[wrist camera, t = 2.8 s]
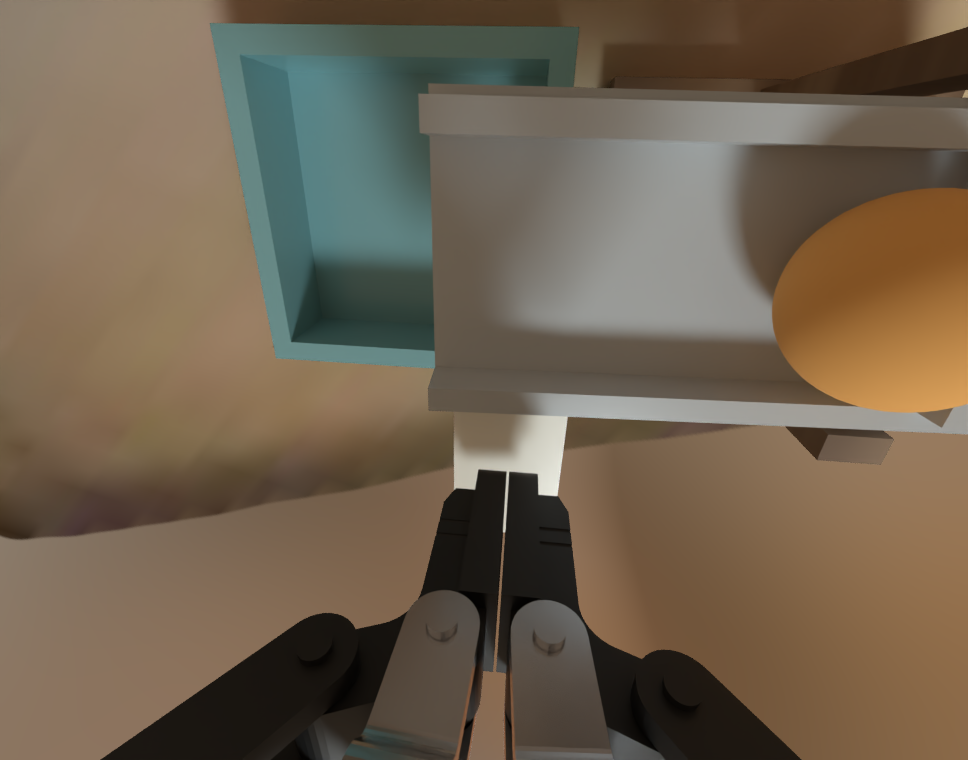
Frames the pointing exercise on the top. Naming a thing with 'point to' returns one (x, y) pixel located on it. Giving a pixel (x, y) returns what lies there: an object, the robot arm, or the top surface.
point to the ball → (882, 303)
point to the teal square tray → (356, 169)
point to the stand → (897, 72)
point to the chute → (646, 253)
